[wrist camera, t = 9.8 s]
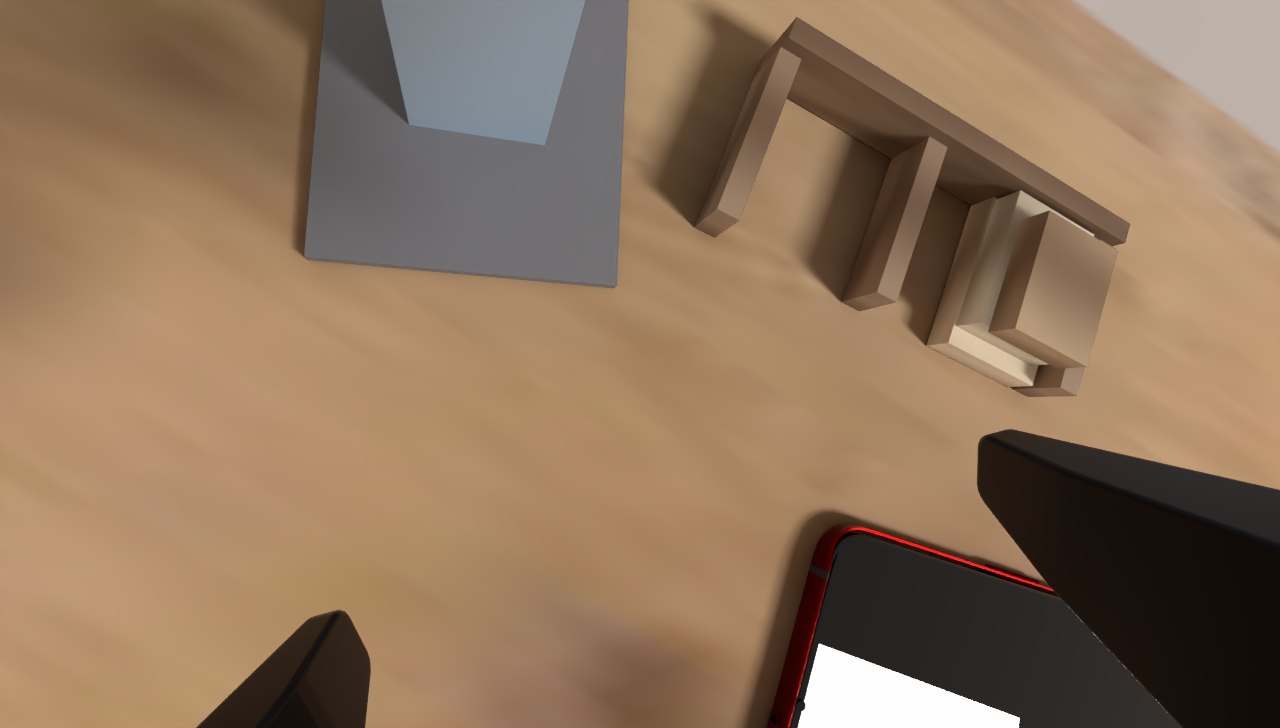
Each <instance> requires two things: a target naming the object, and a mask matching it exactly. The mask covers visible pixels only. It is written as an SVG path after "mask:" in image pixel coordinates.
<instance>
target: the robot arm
mask: <svg viewBox="0 0 1280 728" xmlns="http://www.w3.org/2000/svg"><path fill="white" fill-rule="evenodd" d="M977 486H978V491H979V494H980V496H981V498H982V500H983V501H984V503H985V504H986V505H987V507H988V508H989V509H990V510H991V512H992V513H993V514H994V516H995V517H996V518H997V519H998V521H999V522H1000V523H1001V525H1002V526H1003V527H1004V528H1005V530H1006V531H1007V532H1008V534H1009V535H1010V536H1011V537H1012V539H1013V540H1014V541H1015V543H1016V544H1017V545H1018V546H1019V548H1020V549H1021V550H1022V552H1023V553H1024V554H1025V555H1026V557H1027V558H1028V559H1029V561H1030V562H1031V563H1032V565H1033V566H1034V567H1035V568H1036V570H1037V571H1038V572H1039V574H1040V575H1041V576H1042V577H1043V578H1044V580H1045V581H1046V582H1047V583H1048V584H1049V586H1050V587H1051V588H1052V589H1053V590H1054V592H1055V593H1056V594H1057V595H1058V596H1059V597H1060V598H1061V599H1062V600H1063V602H1064V603H1065V604H1066V605H1067V606H1068V607H1069V608H1070V609H1071V610H1072V611H1073V612H1074V613H1075V614H1076V616H1077V617H1078V618H1079V619H1080V620H1081V621H1082V622H1083V623H1084V624H1085V625H1086V626H1087V627H1088V628H1089V629H1090V630H1091V631H1092V633H1093V634H1094V635H1095V636H1096V637H1097V638H1098V639H1099V640H1100V641H1101V642H1102V643H1103V644H1104V645H1105V646H1106V647H1107V649H1108V650H1109V651H1110V652H1111V653H1112V654H1113V655H1114V656H1115V657H1116V658H1117V659H1118V660H1119V661H1120V662H1121V663H1122V664H1123V666H1124V667H1125V668H1126V669H1127V670H1128V671H1129V672H1130V673H1131V674H1132V675H1133V676H1134V677H1135V678H1136V679H1137V680H1138V681H1139V683H1140V684H1141V685H1142V686H1143V687H1144V688H1145V689H1146V690H1147V691H1148V692H1149V693H1150V694H1151V695H1152V696H1153V697H1154V699H1155V700H1156V701H1157V702H1158V703H1159V704H1160V705H1161V706H1162V707H1163V708H1164V709H1165V710H1166V711H1167V712H1168V713H1169V714H1170V716H1171V717H1172V718H1173V719H1174V720H1175V721H1176V722H1177V723H1178V724H1179V725H1180V726H1181V727H1182V728H1280V490H1278V489H1273V488H1269V487H1264V486H1260V485H1256V484H1251V483H1247V482H1242V481H1238V480H1233V479H1229V478H1225V477H1220V476H1216V475H1211V474H1207V473H1203V472H1198V471H1194V470H1189V469H1185V468H1180V467H1176V466H1172V465H1167V464H1163V463H1158V462H1154V461H1150V460H1145V459H1141V458H1136V457H1132V456H1127V455H1123V454H1119V453H1114V452H1110V451H1105V450H1101V449H1097V448H1092V447H1088V446H1083V445H1079V444H1074V443H1070V442H1066V441H1061V440H1057V439H1052V438H1048V437H1044V436H1039V435H1035V434H1030V433H1026V432H1021V431H1017V430H1012V429H1009V430H1003V431H999V432H996V433H992V434H988V435H985V436H983V437H982V438H981V439H980V441H979V443H978V465H977ZM370 672H371V667H370V659H369V655H368V652H367V650H366V648H365V646H364V644H363V642H362V640H361V638H360V636H359V634H358V632H357V630H356V629H355V627H354V625H353V623H352V621H351V619H350V617H349V616H348V614H347V613H346V612H345V611H342V610H336V611H332V612H328V613H324V614H321V615H317V616H314V617H311V618H309V619H308V620H307V621H306V622H305V623H304V624H302V625H301V626H300V627H299V628H298V629H297V630H296V631H295V632H294V633H293V634H292V635H291V636H290V637H289V638H288V639H287V640H286V641H285V642H284V643H283V644H282V645H281V646H280V647H279V648H278V649H277V650H276V651H275V652H274V653H273V654H272V655H271V656H270V657H268V658H267V659H266V660H265V661H264V662H263V663H262V664H261V665H260V666H259V667H258V668H257V669H256V670H255V671H254V672H253V673H252V674H251V675H250V676H249V677H248V678H247V679H246V680H245V681H244V682H243V683H242V684H241V685H240V686H239V687H238V688H237V689H236V690H234V691H233V692H232V693H231V694H230V695H229V696H228V697H227V698H226V699H225V700H224V701H223V702H222V703H221V704H220V705H219V706H218V707H217V708H216V709H215V710H214V711H213V712H212V713H211V714H210V715H209V716H208V717H207V718H206V719H205V720H204V721H203V722H202V723H200V724H199V725H198V726H197V727H196V728H365V722H366V712H367V703H368V693H369V683H370Z"/></svg>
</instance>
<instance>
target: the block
mask: <svg viewBox="0 0 1280 728" xmlns="http://www.w3.org/2000/svg"><path fill="white" fill-rule="evenodd" d="M381 1H382V5H383V10H384V14H385V19H386V23H387V28H388V32H389V37H390V41H391V46H392V50H393V55H394V59H395V64H396V68H397V73H398V77H399V81H400V86H401V90H402V95H403V99H404V104H405V108H406V113H407V117H408V122H409V125H413V126H420V127H426V128H433V129H439V130H446V131H453V132H459V133H466V134H472V135H479V136H486V137H492V138H499V139H506V140H512V141H519V142H525V143H532V144H539V145H545V143H546V139H547V136H548V132H549V128H550V125H551V121H552V118H553V114H554V111H555V107H556V103H557V100H558V96H559V93H560V89H561V86H562V82H563V78H564V75H565V71H566V68H567V64H568V60H569V57H570V53H571V50H572V46H573V43H574V39H575V35H576V32H577V28H578V25H579V21H580V18H581V14H582V10H583V7H584V3H585V0H381Z"/></svg>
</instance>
